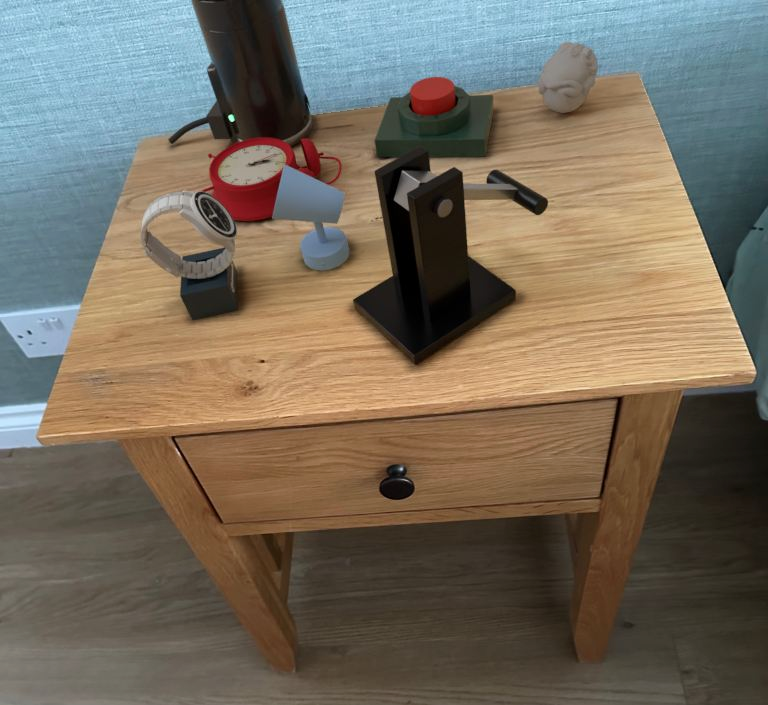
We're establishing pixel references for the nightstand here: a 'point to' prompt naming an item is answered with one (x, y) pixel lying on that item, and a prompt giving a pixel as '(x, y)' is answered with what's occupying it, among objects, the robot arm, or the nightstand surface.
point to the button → (433, 96)
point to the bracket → (428, 265)
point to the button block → (437, 128)
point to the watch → (201, 270)
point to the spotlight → (313, 217)
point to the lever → (478, 190)
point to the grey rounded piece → (568, 77)
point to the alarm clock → (258, 174)
